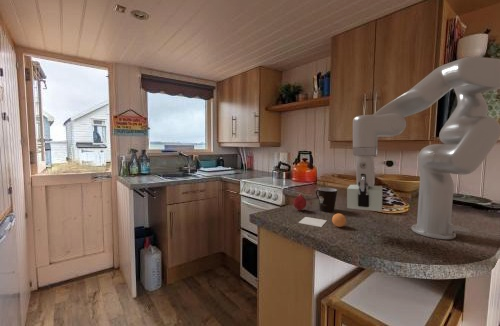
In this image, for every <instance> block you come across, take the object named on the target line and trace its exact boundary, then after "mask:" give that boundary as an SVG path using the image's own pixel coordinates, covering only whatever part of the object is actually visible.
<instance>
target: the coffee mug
mask: <svg viewBox="0 0 500 326" xmlns="http://www.w3.org/2000/svg"><path fill="white" fill-rule="evenodd" d="M337 195H338V189H337V188H331V187H318V189H317V190H316V191H315V196H316V198H317V199H318V204H319V211H320V212H324V213H333V212H335V207H336V201H337Z"/></svg>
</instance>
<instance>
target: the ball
mask: <svg viewBox="0 0 500 326" xmlns="http://www.w3.org/2000/svg"><path fill="white" fill-rule="evenodd" d="M331 221H332V223H333V225H334V226H335V227H337V228H343V227H344V226H345V225H346V223H347V218H346V216H345V215H344V214H343V213H335V214H334V215H333V216H332V219H331Z"/></svg>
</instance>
